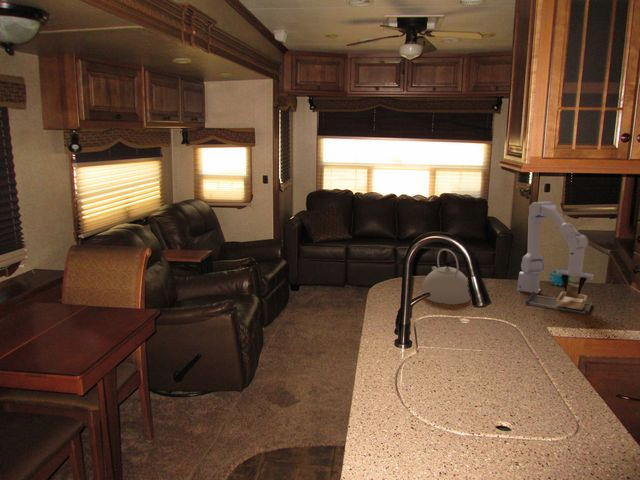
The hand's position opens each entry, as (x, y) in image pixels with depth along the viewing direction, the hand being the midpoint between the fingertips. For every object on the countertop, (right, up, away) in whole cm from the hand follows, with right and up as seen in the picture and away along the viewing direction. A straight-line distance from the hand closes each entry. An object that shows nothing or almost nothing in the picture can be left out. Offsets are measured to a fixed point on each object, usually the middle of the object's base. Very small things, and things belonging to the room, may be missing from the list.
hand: (572, 292), depth 227 cm
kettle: (-52, -3, +16) cm, 55 cm away
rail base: (-4, -6, +4) cm, 8 cm away
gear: (+11, 0, +35) cm, 36 cm away
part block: (0, -2, +1) cm, 2 cm away
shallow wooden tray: (0, -5, +1) cm, 5 cm away
